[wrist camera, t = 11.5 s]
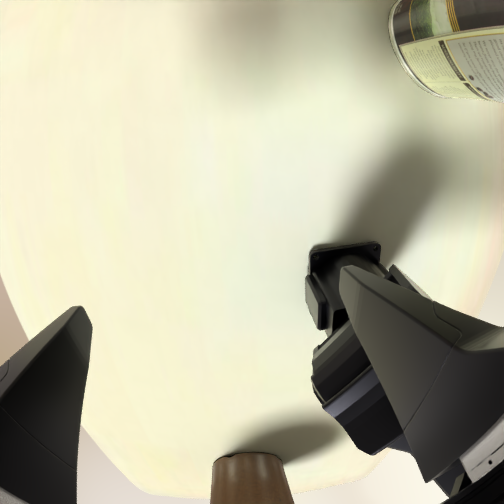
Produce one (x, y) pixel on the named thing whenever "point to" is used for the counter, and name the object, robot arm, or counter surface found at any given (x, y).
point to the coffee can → (451, 46)
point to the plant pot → (250, 480)
